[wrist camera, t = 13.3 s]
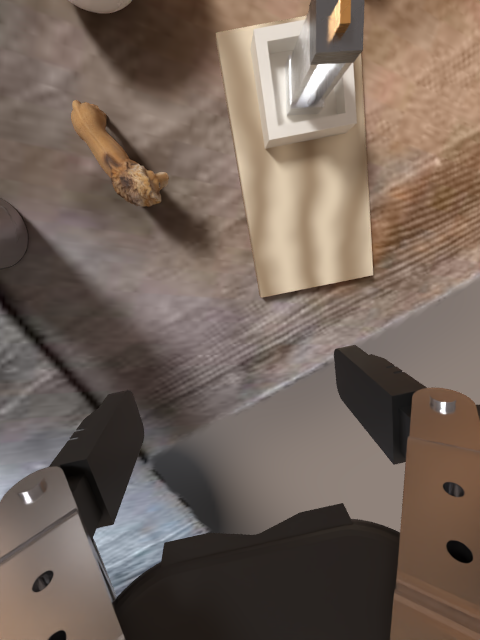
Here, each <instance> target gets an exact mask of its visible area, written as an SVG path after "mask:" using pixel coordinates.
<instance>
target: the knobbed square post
mask: <svg viewBox="0 0 480 640" xmlns="http://www.w3.org/2000/svg"><path fill="white" fill-rule="evenodd" d="M363 26H364V0H311V3H310V5H309V11H308V14H307V16H306V19H305V22H304V24H303V27H302V29H301V32H300V35H299V37H298V40H297V42H296V45H295V48H294V50H293V53H292V55H289V56H288V59H287V61H286V64H285V84H286V116H289V115H305V114H319V112H320V111H321V110H322V109H323V107H324V101H325V99H326V98H327V96H328V95H329V94H330V92H331V91H332V90H333V88H334V87H335V86H336V84H337V83H338V82H339V80H340V79H341V77H342V76H343V75H344V73H345V72H346V71H347V69H348V68H349V67H350V65H351V64H352V63H354V61H355V60H356V59H357V57H358V56H359V55H360V53H361V52H362V51H363Z"/></svg>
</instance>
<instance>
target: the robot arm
mask: <svg viewBox="0 0 480 640" xmlns="http://www.w3.org/2000/svg"><path fill="white" fill-rule="evenodd" d="M27 244H28V233H27V229H26V226H25V223H24V221H23V219H22V217H21V216H20V215H19V213H18V212H17V211H16V210H15V209H14V208H13V207H12V206H11V205H10V204H9V203H8V202H6V201H5V200H3V199H2V198H0V269H1V268H7V267H10V266H12V265H14V264H15V263H17V262H18V261H19V260H20V259H21V258H22V257H23V255H24V254H25V251H26V249H27ZM334 360H335V370H336V383H337V389H338V392H339V395H340V397H341V399H342V401H343V402H344V403H345V404H346V406H347V407H348V408H349V409H350V411H351V412H352V413H353V415H354V416H355V417H356V418H357V419H358V421H359V422H360V423H361V424H362V426H363V427H364V428H365V429H366V431H367V432H368V433H369V434H370V436H371V437H372V438H373V439H374V441H375V442H376V443H377V444H378V445H379V447H380V448H381V449H382V450H383V452H384V453H385V454H386V456H387V457H388V458H389V459H390V461H391V462H392V463H393V464H398V463H403V462H406V466H405V480H404V491H403V504H402V517H401V530H400V532H398V531H396V530H393V529H391V528H388V527H385V526H383V525H380V524H377V523H373V522H369V521H363V520H358V519H350V517H349V515H348V512H347V511H346V508H345V507H344V504H343V503H341V504H337V505H333V506H328V507H323V508H319V509H314V510H310V511H305V512H301V513H298V514H296V515H294V516H293V517H291V518H289V519H287V520H285V521H283V522H281V523H279V524H278V525H275V526H273V527H271V528H269V529H268V530H266V531H264V532H262V533H260V534H257V535H242V534H222V533H206V534H202V535H197V536H193V537H188V538H184V539H179V540H175V541H170V542H166V543H164V549H163V555H162V561H161V562H160V563H158V564H156V565H155V566H153V567H152V568H150V569H149V570H147V571H146V572H144V573H143V574H142V575H140V576H139V577H138V578H137V579H135V580H134V581H133V582H132V583H131V584H130V585H129V586H128V587H127V588H126V589H124V590H123V591H122V592H121V594H120V595H119V596H118V597H117V596H116V593H115V591H114V588H113V586H112V583H111V581H110V578H109V576H108V573H107V571H106V568H105V566H104V563H103V561H102V558H101V556H100V553H99V551H98V548H97V546H96V543H95V541H94V539H93V536H94V533H95V531H96V528H100V527H104V526H109V525H113V524H114V521H115V519H116V516H117V513H118V510H119V507H120V505H121V502H122V499H123V496H124V494H125V491H126V488H127V485H128V482H129V480H130V477H131V474H132V471H133V468H134V466H135V463H136V460H137V457H138V454H139V452H140V449H141V446H142V443H143V440H144V428H143V423H142V420H141V417H140V414H139V411H138V408H137V405H136V402H135V399H134V396H133V394H132V392H131V391H130V390H127V391H122V392H117V393H112V394H109V395H107V397H106V398H105V400H104V401H103V403H102V404H101V405H100V407H99V408H98V410H95V411H94V412H92V413H91V414H90V415H89V416H88V417H86V418H85V419H84V420H83V421H82V423H81V424H80V425H79V427H78V428H77V429H76V432H74V433H73V435H72V436H71V438H70V440H69V441H68V442H67V443H66V444H65V446H64V447H63V448H62V450H61V451H60V452H59V454H58V455H57V457H56V458H55V459H54V461H53V462H52V463H51V465H50V466H49V467H47V468H44V469H41V470H38V471H36V472H34V473H32V474H30V475H28V476H26V477H25V478H23V479H22V480H20V481H19V482H18V483H16V484H15V485H14V486H13V487H12V488H11V489H10V490H9V491H8V492H7V493H6V494H5V495H4V496H3V498H2V499H1V501H0V640H480V405H475V403H474V402H473V401H472V400H471V399H470V398H469V397H467V396H466V395H464V394H462V393H459V392H456V391H453V390H449V389H444V388H427V387H425V386H424V385H422V384H420V383H419V382H418V381H416V380H415V379H413V378H412V377H411V376H409V375H408V374H406V373H405V372H402V370H400V369H399V368H398V367H395V366H394V365H393V364H392V363H390V362H389V361H387V360H386V359H384V358H381V357H378V356H375V355H372V354H371V355H368V354H367V353H365V352H364V351H363V350H361V349H360V348H359V347H357V346H356V345H352V346H347V347H343V348H338V349H335V351H334Z"/></svg>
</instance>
